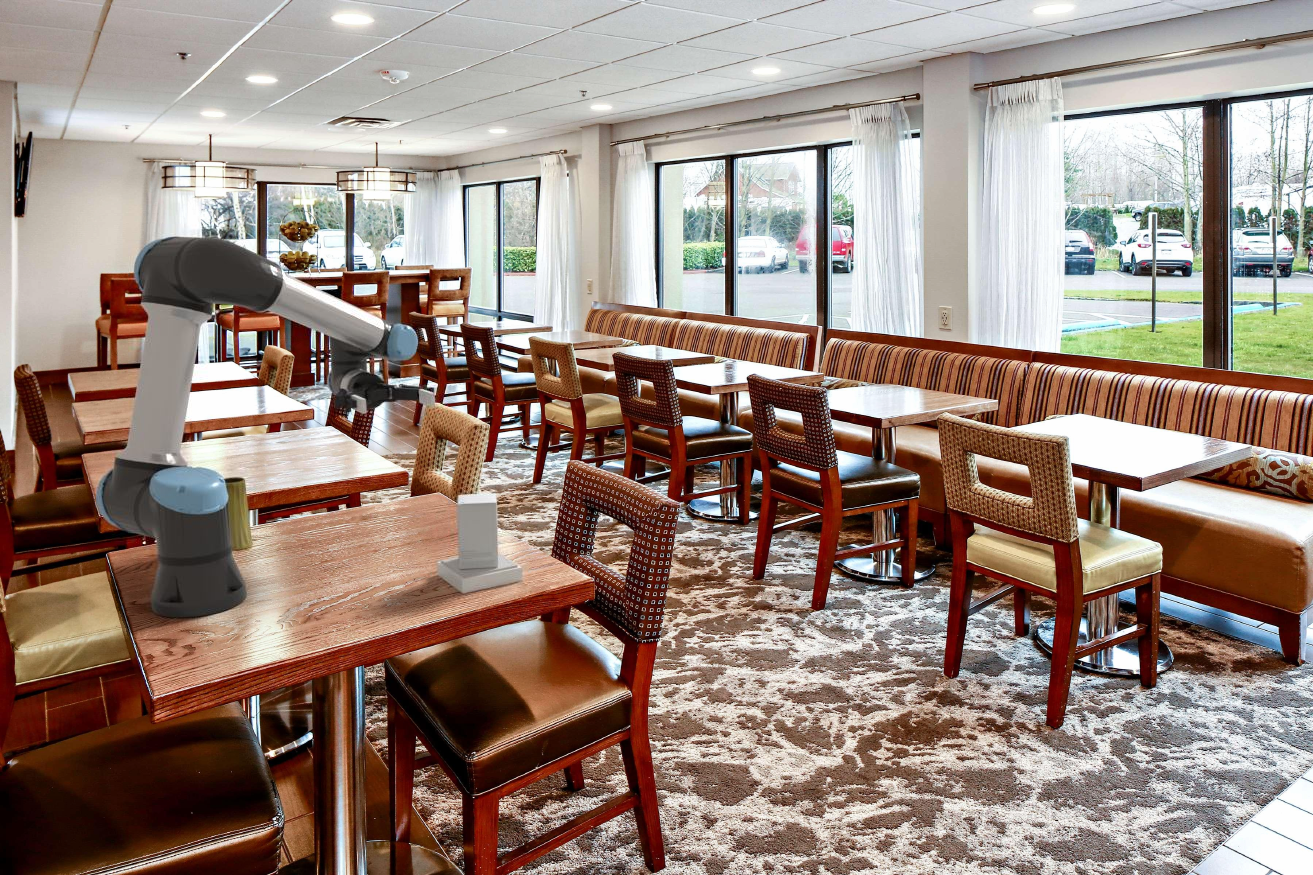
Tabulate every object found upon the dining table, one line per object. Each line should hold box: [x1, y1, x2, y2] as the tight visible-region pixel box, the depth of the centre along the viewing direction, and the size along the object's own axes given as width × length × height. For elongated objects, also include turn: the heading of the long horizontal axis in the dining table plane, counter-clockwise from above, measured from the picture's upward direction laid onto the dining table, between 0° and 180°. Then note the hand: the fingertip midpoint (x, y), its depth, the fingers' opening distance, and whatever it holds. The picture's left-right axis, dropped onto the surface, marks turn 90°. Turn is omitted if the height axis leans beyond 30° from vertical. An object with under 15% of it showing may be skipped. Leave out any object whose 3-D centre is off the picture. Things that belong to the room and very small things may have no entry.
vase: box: [223, 476, 254, 551], centre depth 196 cm, size 6×6×14 cm
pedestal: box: [436, 552, 523, 594], centre depth 179 cm, size 12×12×3 cm
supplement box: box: [456, 492, 499, 569], centre depth 178 cm, size 7×7×13 cm
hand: (399, 403), depth 182 cm, fingers open, 13 cm apart
